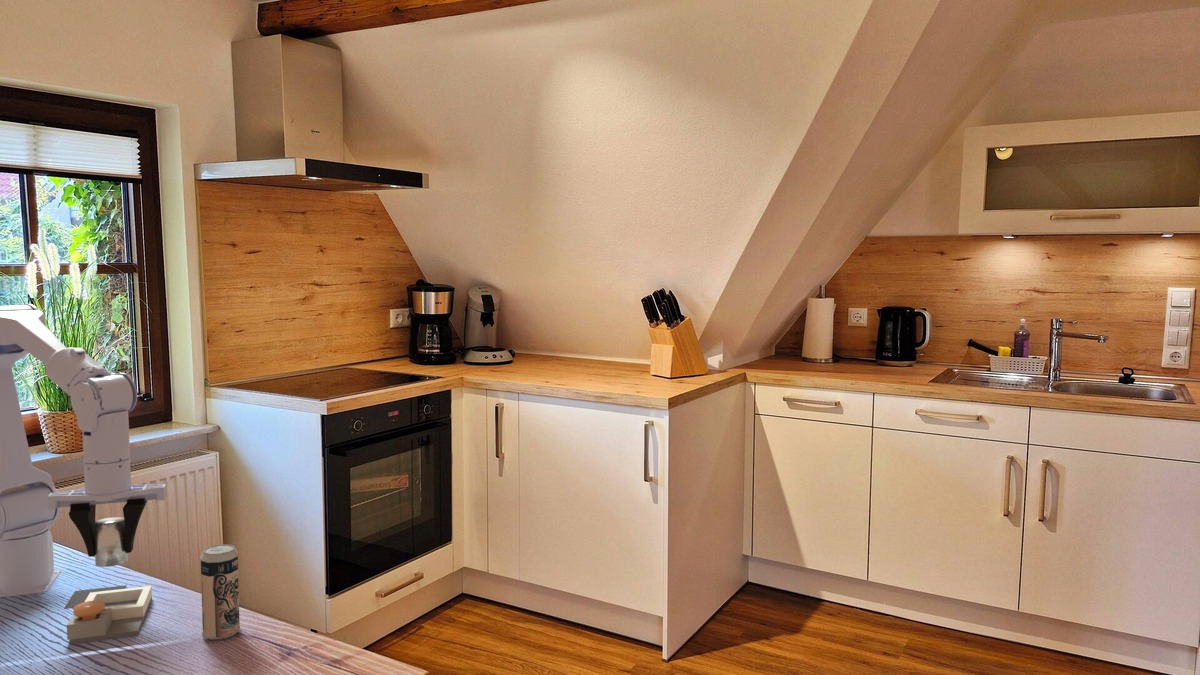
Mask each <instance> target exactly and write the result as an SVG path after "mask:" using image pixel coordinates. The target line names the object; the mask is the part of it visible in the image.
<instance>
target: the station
mask: <svg viewBox="0 0 1200 675" xmlns="http://www.w3.org/2000/svg"><path fill="white" fill-rule="evenodd" d="M152 588H153V587H152V585H145V586H136V587H128V588H127V587H126V588H125V589H118V590H109V591H100V592H91V593H90V594H89V595H88V597H87V599H86V600H85V602H87V601H96V600H98V601H103V602H104V603H105V610H104V611H103V612H101V613H99V614H97V615H96V616H97V619H90V620H83V617H76V616H74V613H73V614H72V616H71V617H70V619H69V621H68V622H67V624H66V640H68V641H69V642H68V644H69V645H74V644H75V645H76V644H83V643H91V642H98V641H105V640H106V641H107V640H113V639H121V638H129V637H136V636H137V637H138V636H139V633H140V631H141V629H142V626H143V624H144V621H145V619H146V616H147V614H148V611H149V610H150V609H149V608H150V606H151V603H152V601H153V591H152V590H153V589H152Z"/></svg>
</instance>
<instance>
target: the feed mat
mask: <svg viewBox="0 0 1200 675" xmlns="http://www.w3.org/2000/svg"><path fill="white" fill-rule="evenodd" d="M127 586H128V585H127V584H126V585H117V586H107V587H99V588H88V589H81V590H74V592H73V593H72V595H71V596H70V598H69V600H67V603H66V604H65V605H64V607H63V609H64V610H65V609H73V608H74V607H75V606H76V605H78V604H80V603H83V602H85V600H86V599H87V597H88V595H89V594H90V593H91V592H100V591H109V590H118V589H127Z"/></svg>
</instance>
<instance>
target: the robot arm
mask: <svg viewBox="0 0 1200 675" xmlns="http://www.w3.org/2000/svg"><path fill="white" fill-rule="evenodd" d="M45 317H46V316H45V314H44V312H43V311H41V310H40V309H39V308H38V307H37V306H36V305H34V304H31V303H25V304H20V305H19V304H17V305H0V598H5V597H17V596H25V595H35V594H42V593H46V592H48V591H49V589H50V588H51V587H52V585H53V584H54V582H55V581H56V580H57V578H58V577H59V575H60V574H61V573H62V570H61V569H55V564H54V562H55V560H54V559H55V558H54V542H53V539H54V538H53V535H52V533H51V531H50V530H49V529H53V527H54V522H55V521H57V519H58V518H59V517H60V514H61V511H62V508H67V507H69V508H70V509H69V512H68V516H69V519H70V520H71V521H72V523H73V524H74V525H75V527H76V529H77V530H78V531H79V533H80V536H81V538H82V540H83V541H84V542H83V543H84V545H85V548H86V551H87V556H88V557H89V558H90V557H95V544H94V522H95V521H96V510H97V509H96V507H97V506H96V505H106V504H107V505H108V504H117V503H125V504H124V506H123V507H122V514H123V518H124V522H125V553H127V554H130V553H132V551H133V550H134V544H135V543H134V542H135V536H136V532H137V529H138V525H139V522H140V520H141V516H142V514H143V512H144V510H145V507H146V505H147V502H148V501H154V500H156V501H157V502H158V501H165V500H166V498H167V484H166V483H162V484H159V483H157V484H132V478H131V477H132V475H131V474H132V473H131V449H130V448H131V447H130V445H131V444H130V423H129V422H130V421H129V419H130V418H129V413H131V411H133V410H134V409H135V407H136V405H137V401H138V392H137V391H138V390H137V386H136V384H135V382H134V380H133V379H132V378H131V377H130V376H129V374H127V373H125V372H118V373H115V372H113V371H112V372H111V371H110V372H109V371H108V370H107V369H106V368H105V367H103V365H101V364H99V363H98V362H97V360H95V359H94V358H92V357H91V356H90V355H89V354H88V353H87V351H86V350H85V349H83V347H72V346H71V347H66V346H65V345H64V343H63V342H62V341H61V340H60V339H59V338H57V337H56V335H55V334H54V333H53V332H52V331H50V329H49V328H48V327H47V325H46V324H47V323H46V318H45ZM28 354H30V355H31V356H32V357H34V358H36V359H37V360H38V361H40V362H42V363H43V364H44V365H45V374H46V376H47V377H48V379H50V380H51V382H53V383H54V384H55V385H56V386H58V387H59V388H60V389H61V390H62V391H63V392H65V393H66V394H67V395H68V396H69V397H70V404H71V408H72V411H73V412H74V413H75V416H76V422H77V427H78V429H79V431H82V453H83V476H84V480H83V481H84V488H79V489H72V490H65V491H58V490H57V488H56V487H55V484H54V482H53V479H52V475H51V474H50V473H48V472H46V471H45V470H42V469H39V468H37V467H36V466H34V465H33V462H32V458H31V457H32V456H31V452H30V448H29V442H28V439H27V433H26V429H25V425H24V424H25V423H24V420H23V414H22V410H21V405H20V402H19V397H18V392H17V388H16V382H15V377H14V373H13V367H14V366H15V364H16V362H18V361H20V360H22V359H24V358H25V357H26V356H28ZM18 487H26V488H21V489H17V490H12V491H8V492H4V491H5V490H9V489H13V488H18Z"/></svg>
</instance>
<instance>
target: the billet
mask: <svg viewBox="0 0 1200 675" xmlns="http://www.w3.org/2000/svg"><path fill="white" fill-rule="evenodd" d="M94 544H95V556H94V562H95V564H94V565H95V566H96V567H100V568H104V567H105V568H107V567H115V566H116V567H117V566H120V565H122V564H125V563H126V562H128V553H125V522H124V517H121V516H119V517H116V516H115V517H106V518H101V519H98V520H95V522H94Z"/></svg>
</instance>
